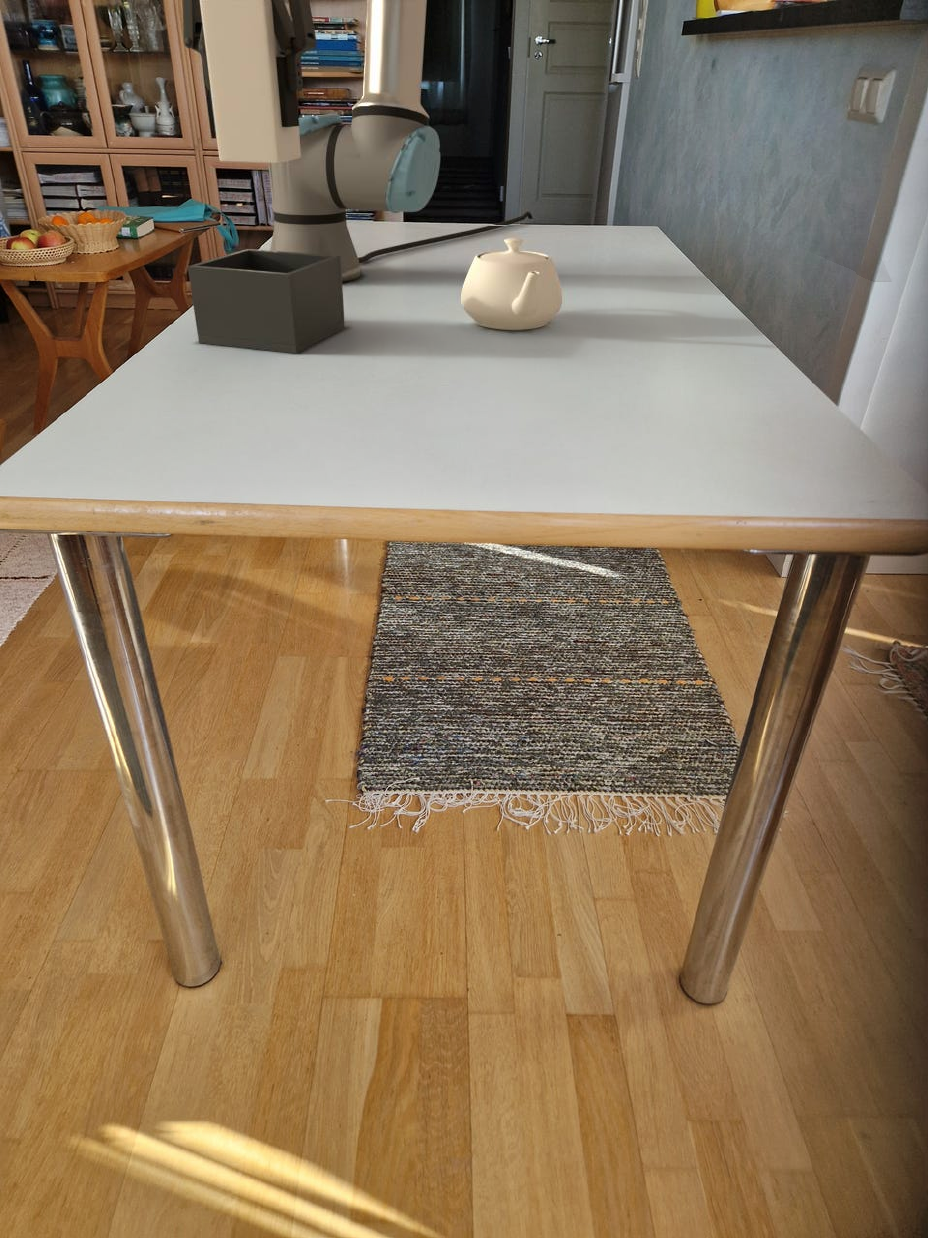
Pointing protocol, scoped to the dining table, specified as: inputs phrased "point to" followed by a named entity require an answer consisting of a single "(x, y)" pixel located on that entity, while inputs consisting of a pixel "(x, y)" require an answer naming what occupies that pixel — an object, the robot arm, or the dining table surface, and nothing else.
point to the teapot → (512, 289)
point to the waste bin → (267, 299)
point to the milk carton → (246, 82)
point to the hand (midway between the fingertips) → (257, 124)
